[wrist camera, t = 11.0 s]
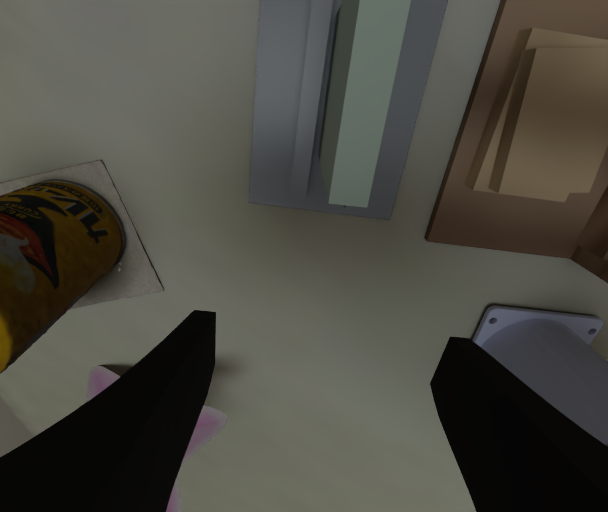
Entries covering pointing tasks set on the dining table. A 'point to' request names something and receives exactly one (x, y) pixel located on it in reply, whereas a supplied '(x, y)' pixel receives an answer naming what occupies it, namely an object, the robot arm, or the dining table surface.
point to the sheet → (359, 95)
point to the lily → (203, 432)
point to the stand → (311, 98)
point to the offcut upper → (554, 122)
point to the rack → (514, 209)
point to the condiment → (63, 252)
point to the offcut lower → (494, 126)
